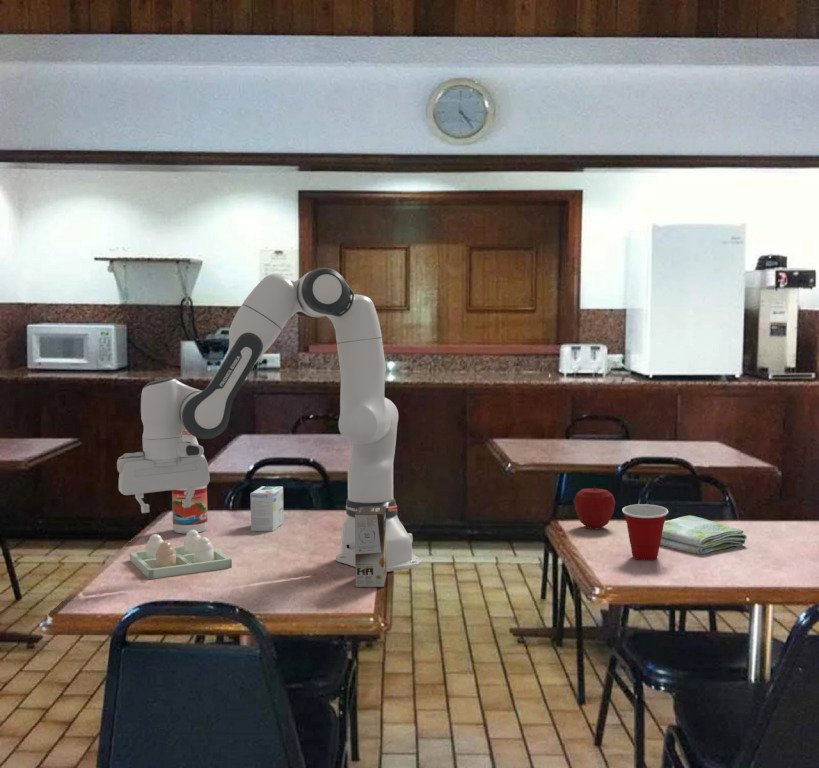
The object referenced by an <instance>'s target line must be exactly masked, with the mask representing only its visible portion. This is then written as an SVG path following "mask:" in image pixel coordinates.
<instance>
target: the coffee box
mask: <svg viewBox="0 0 819 768" xmlns="http://www.w3.org/2000/svg"><path fill="white" fill-rule="evenodd" d="M355 566H356V567H355V587H356V588H384V586H385V583H386V578H387V572H386V507H385V506H368V507H359V508H358V509H357V511H356V513H355Z"/></svg>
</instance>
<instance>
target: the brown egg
mask: <svg viewBox="0 0 819 768" xmlns="http://www.w3.org/2000/svg"><path fill="white" fill-rule="evenodd" d="M173 547H174V546H173V545H172V543H171V542H169V541H164V542H162V543H161V544H160V546H159V548H158V549H157V551H156V568H162V567H169V566H176V552H175V549H174V548H173Z"/></svg>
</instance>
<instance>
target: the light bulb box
mask: <svg viewBox="0 0 819 768" xmlns="http://www.w3.org/2000/svg"><path fill="white" fill-rule="evenodd" d="M249 495H250V497H249V498H250V531H251V532H274V531H275V530H276V529H278V528H279V527H280V526H282V525H283V524H284V486H280V485H279V486H268V485H267V486H263V485H262V486H260V487H259V488H257V489H255V490H254V491H252V492H250V494H249Z"/></svg>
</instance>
